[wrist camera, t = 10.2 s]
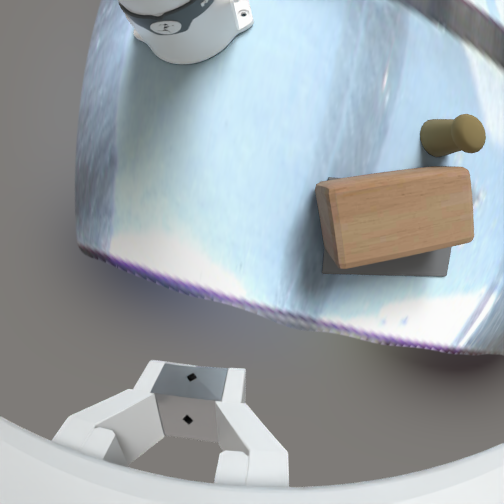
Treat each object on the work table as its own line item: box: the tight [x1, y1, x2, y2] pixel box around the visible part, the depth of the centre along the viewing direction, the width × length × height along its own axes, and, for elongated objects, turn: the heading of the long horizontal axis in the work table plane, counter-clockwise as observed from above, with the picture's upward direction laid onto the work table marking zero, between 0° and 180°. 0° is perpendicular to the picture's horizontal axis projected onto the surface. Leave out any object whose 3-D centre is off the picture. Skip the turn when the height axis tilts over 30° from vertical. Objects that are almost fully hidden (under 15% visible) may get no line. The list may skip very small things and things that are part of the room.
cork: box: [420, 114, 486, 157], centre depth 33 cm, size 6×6×11 cm
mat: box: [322, 177, 451, 276], centre depth 43 cm, size 14×22×1 cm, turn 89°
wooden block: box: [315, 166, 474, 269], centre depth 37 cm, size 10×10×20 cm
